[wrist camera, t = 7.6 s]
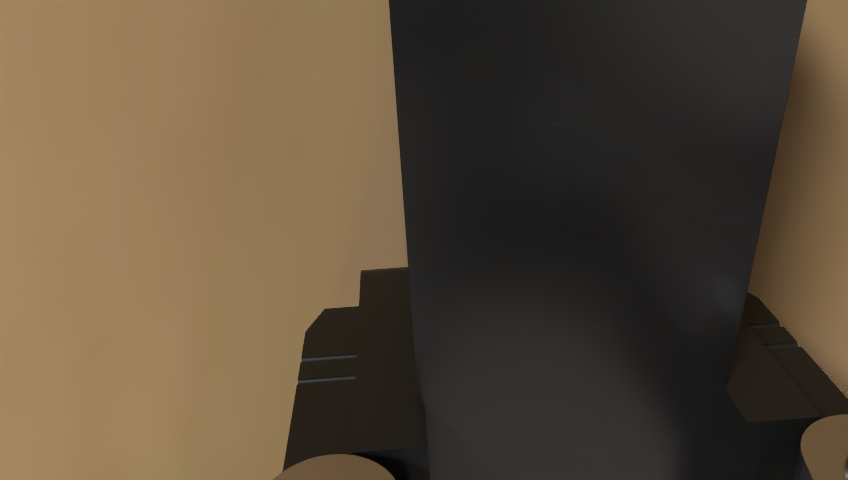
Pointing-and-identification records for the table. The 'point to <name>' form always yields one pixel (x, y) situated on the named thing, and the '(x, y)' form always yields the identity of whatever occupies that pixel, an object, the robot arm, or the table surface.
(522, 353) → the long dark grey beam
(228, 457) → the table surface
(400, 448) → the robot arm
